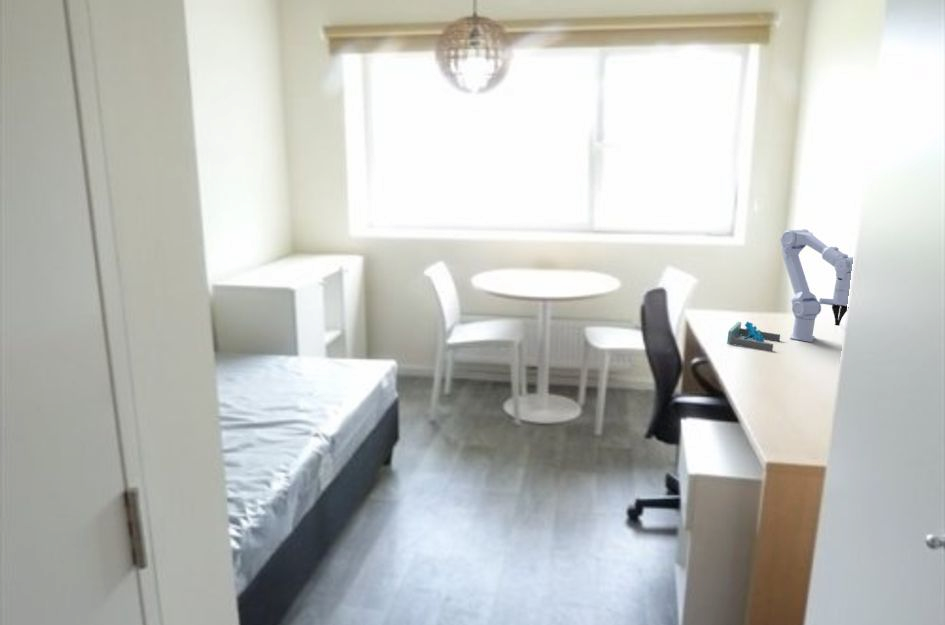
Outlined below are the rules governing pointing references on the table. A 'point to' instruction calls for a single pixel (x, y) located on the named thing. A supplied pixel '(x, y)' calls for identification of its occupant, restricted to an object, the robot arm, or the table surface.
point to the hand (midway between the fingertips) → (837, 324)
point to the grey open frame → (749, 343)
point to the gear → (753, 332)
